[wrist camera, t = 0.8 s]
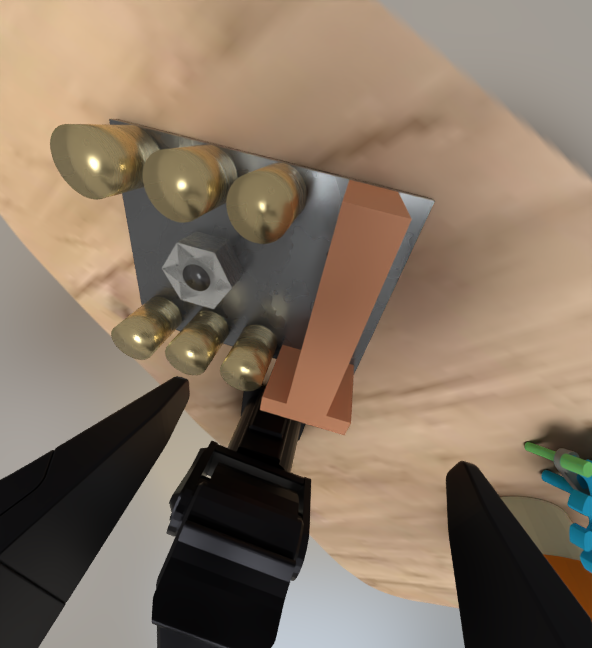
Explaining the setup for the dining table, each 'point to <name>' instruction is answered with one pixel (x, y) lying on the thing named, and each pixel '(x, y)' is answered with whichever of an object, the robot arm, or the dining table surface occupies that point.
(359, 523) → the dining table surface
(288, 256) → the plate
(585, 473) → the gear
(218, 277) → the nut
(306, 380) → the copper l-bar
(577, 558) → the reusable coffee cup
